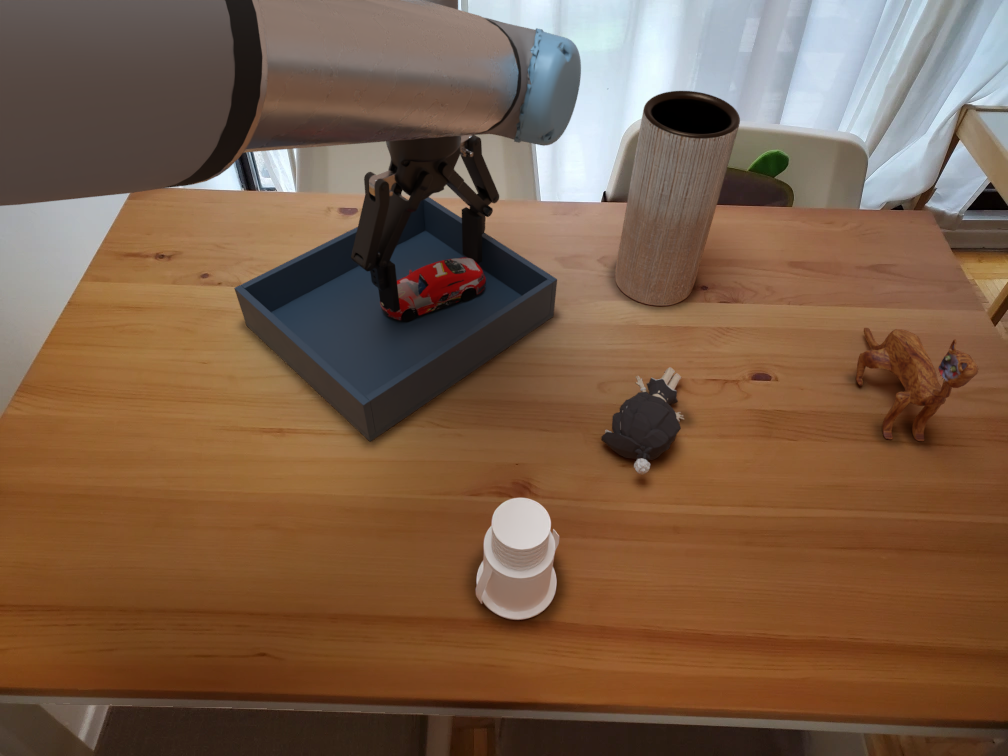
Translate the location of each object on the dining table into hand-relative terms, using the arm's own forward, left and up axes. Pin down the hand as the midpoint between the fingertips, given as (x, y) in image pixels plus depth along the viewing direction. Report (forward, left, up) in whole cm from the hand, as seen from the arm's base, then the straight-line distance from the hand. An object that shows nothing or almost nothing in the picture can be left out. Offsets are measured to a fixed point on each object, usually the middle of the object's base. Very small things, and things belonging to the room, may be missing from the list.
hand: (432, 280), depth 85 cm
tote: (-5, 0, -3) cm, 6 cm away
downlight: (-19, -33, -4) cm, 38 cm away
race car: (0, 0, -3) cm, 3 cm away
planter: (+23, -16, -3) cm, 28 cm away
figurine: (+3, -30, -4) cm, 30 cm away
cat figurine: (+27, -45, -3) cm, 53 cm away
